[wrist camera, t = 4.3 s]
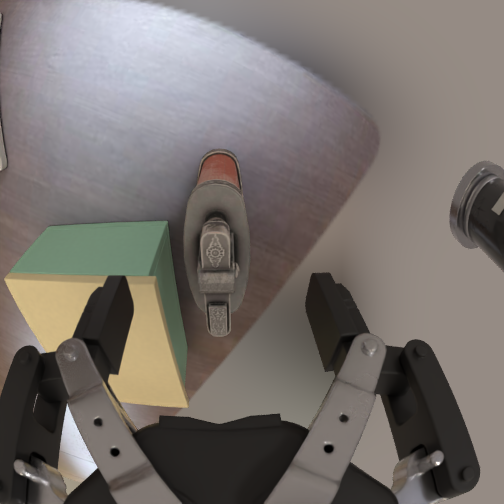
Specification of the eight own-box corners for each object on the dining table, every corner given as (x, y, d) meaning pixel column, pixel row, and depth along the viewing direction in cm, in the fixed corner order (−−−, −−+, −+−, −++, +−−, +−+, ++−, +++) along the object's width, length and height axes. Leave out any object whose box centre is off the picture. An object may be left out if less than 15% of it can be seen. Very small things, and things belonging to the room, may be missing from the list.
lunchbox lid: (156, 275, 15) (154, 284, 14) (189, 401, 24) (188, 407, 23) (8, 272, 14) (3, 278, 13) (80, 388, 22) (78, 394, 22)
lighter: (195, 149, 18) (166, 209, 10) (244, 148, 18) (260, 208, 10) (199, 248, 22) (187, 349, 14) (241, 247, 23) (251, 348, 14)
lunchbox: (168, 220, 21) (148, 274, 15) (187, 347, 29) (184, 400, 24) (48, 225, 20) (9, 271, 14) (95, 341, 28) (80, 388, 23)
